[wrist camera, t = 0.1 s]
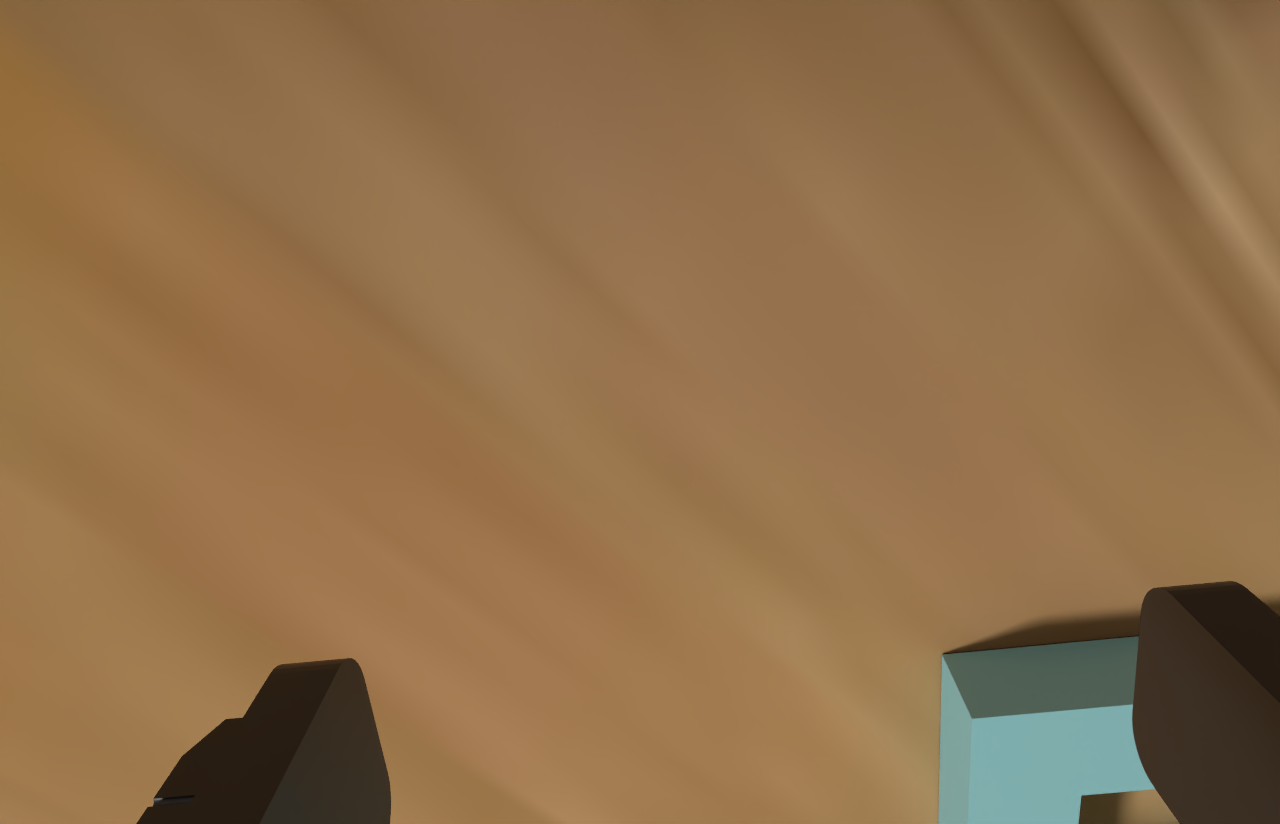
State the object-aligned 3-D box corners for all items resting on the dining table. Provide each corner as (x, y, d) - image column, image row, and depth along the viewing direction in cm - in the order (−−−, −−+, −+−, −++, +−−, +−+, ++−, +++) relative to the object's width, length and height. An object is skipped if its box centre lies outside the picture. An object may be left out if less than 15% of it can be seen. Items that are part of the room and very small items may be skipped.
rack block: (942, 654, 31) (971, 718, 28) (1347, 617, 30) (1418, 678, 28) (936, 926, 36) (960, 1002, 33) (1281, 897, 36) (1335, 973, 33)
